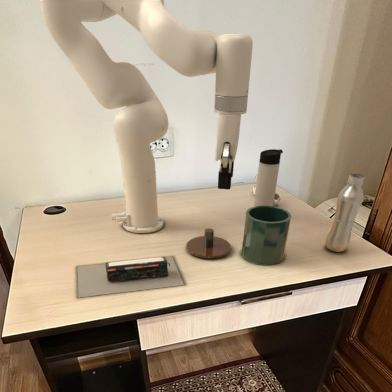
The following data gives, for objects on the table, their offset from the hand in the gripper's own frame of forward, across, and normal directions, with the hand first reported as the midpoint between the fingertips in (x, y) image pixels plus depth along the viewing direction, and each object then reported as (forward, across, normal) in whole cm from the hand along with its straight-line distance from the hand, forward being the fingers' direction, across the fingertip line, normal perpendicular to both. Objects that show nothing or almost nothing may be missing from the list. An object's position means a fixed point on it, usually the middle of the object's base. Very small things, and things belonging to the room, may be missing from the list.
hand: (225, 182), depth 95 cm
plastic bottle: (+17, -2, +33) cm, 37 cm away
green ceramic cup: (+17, +5, +12) cm, 21 cm away
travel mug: (+17, -23, +12) cm, 31 cm away
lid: (+16, +5, -3) cm, 17 cm away
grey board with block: (+17, +22, -22) cm, 35 cm away
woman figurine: (+17, -38, +13) cm, 43 cm away
